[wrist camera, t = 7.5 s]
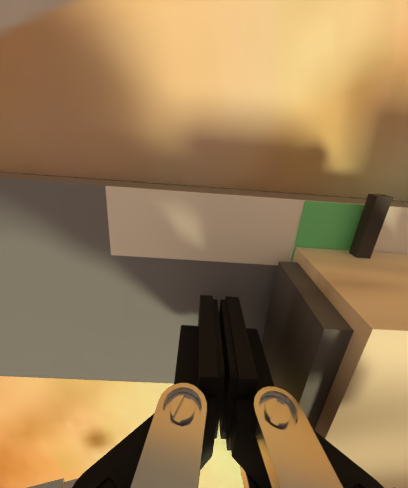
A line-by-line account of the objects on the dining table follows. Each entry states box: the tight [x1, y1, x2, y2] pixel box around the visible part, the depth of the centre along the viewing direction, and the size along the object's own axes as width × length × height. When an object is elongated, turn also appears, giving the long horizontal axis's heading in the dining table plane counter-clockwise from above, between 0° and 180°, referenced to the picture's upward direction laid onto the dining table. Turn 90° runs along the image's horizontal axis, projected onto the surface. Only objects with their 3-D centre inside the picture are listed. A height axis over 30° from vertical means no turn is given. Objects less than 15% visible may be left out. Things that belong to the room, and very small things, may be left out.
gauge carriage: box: [262, 194, 408, 488], centre depth 9 cm, size 10×6×5 cm, turn 176°
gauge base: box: [0, 172, 408, 383], centre depth 12 cm, size 11×28×2 cm, turn 86°
